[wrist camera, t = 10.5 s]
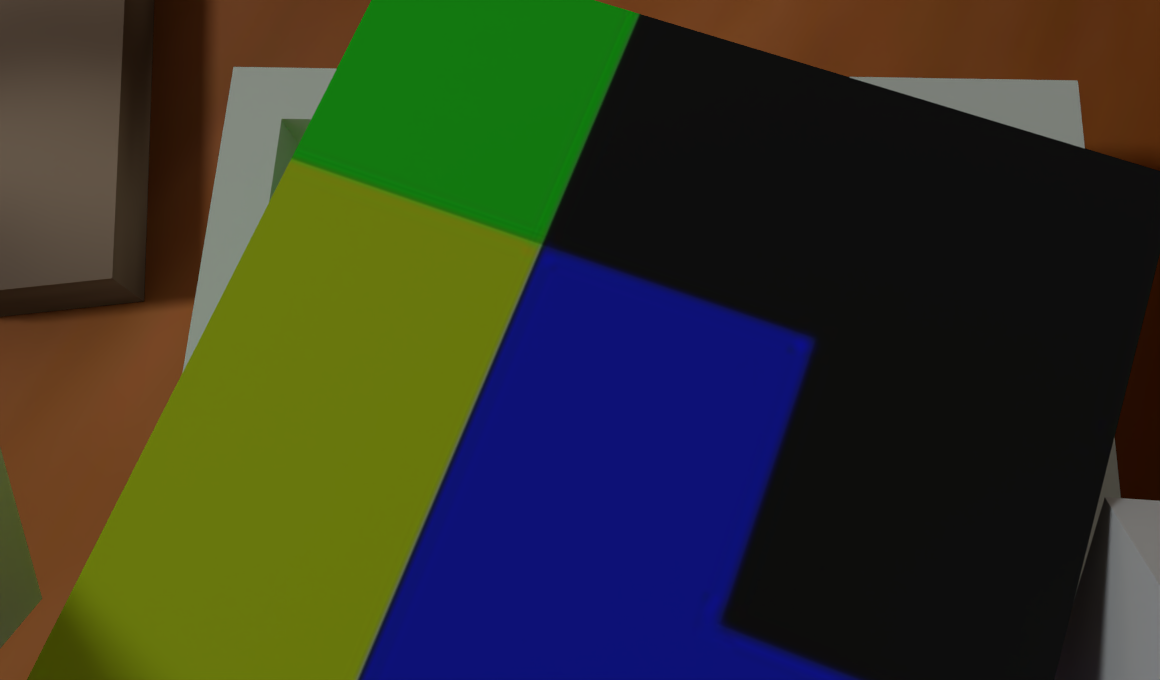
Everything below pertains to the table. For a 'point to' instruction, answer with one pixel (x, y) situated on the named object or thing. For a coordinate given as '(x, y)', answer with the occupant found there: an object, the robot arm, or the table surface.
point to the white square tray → (291, 95)
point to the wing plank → (74, 152)
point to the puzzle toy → (632, 378)
